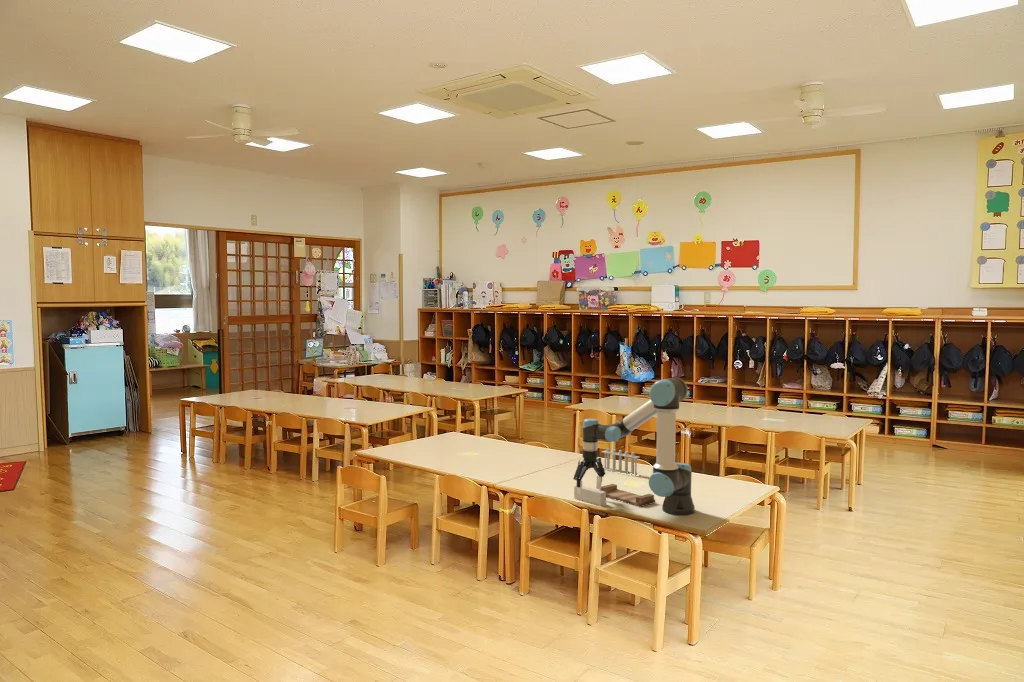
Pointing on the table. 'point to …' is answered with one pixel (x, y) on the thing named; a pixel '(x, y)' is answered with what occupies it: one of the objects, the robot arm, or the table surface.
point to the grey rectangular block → (591, 495)
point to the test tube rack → (620, 461)
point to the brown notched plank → (627, 496)
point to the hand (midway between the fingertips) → (589, 491)
